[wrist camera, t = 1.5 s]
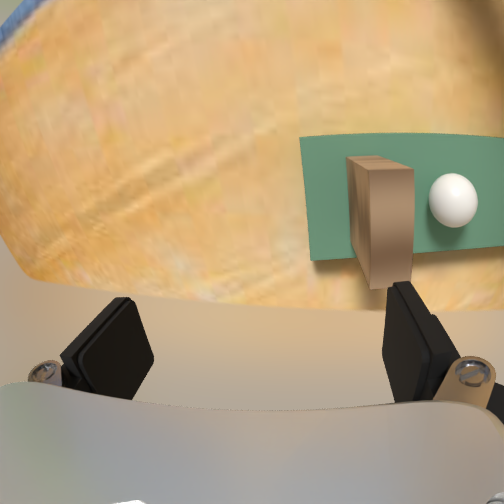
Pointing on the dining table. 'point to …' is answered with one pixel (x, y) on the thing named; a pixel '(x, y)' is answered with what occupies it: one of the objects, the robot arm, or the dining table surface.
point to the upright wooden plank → (381, 218)
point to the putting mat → (425, 174)
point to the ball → (453, 200)
